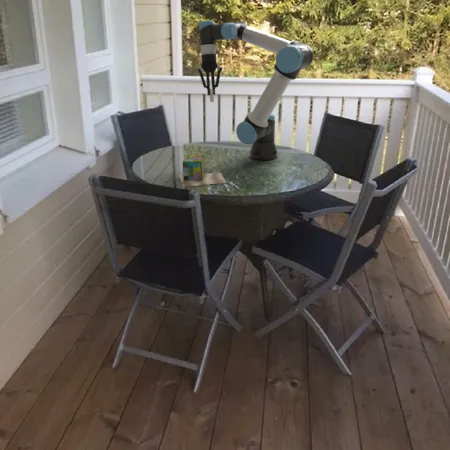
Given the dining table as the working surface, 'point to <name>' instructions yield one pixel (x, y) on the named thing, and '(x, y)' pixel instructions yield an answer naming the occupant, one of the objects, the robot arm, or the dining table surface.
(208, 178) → the board
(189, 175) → the chalk box
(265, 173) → the dining table surface
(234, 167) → the dining table surface
